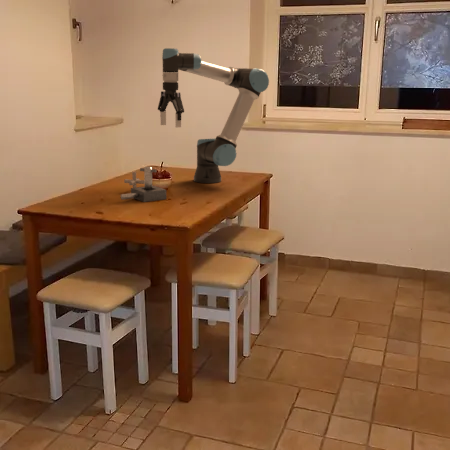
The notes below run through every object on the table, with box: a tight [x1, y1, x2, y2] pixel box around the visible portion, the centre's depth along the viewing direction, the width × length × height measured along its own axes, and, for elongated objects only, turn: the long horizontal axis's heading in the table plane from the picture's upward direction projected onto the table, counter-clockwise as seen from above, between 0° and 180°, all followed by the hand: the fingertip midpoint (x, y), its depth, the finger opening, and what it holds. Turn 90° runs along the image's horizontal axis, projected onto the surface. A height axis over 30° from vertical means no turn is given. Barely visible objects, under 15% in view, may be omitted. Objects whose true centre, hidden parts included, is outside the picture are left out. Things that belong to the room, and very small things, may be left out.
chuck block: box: [120, 185, 167, 203], centre depth 275 cm, size 20×12×4 cm, turn 128°
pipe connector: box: [123, 171, 145, 188], centre depth 291 cm, size 10×10×10 cm
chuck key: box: [139, 166, 157, 190], centre depth 276 cm, size 8×4×14 cm, turn 68°
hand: (170, 126), depth 291 cm, fingers open, 13 cm apart
